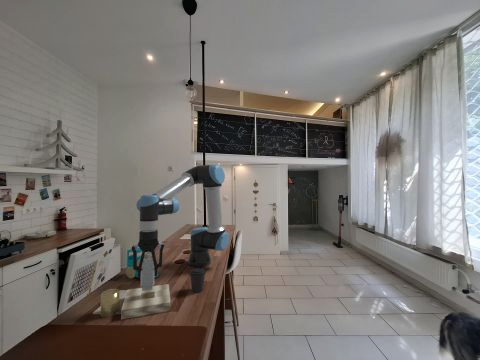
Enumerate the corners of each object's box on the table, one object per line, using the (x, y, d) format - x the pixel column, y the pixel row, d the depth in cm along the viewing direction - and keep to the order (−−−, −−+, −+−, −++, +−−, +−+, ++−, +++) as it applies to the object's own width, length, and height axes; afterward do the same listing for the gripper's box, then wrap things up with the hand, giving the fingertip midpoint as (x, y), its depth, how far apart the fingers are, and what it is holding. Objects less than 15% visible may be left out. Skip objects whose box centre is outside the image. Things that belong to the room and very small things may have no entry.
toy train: (150, 281, 119) (150, 253, 120) (125, 277, 124) (126, 250, 125) (159, 276, 127) (160, 249, 127) (136, 272, 132) (136, 247, 132)
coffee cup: (208, 287, 112) (208, 267, 112) (200, 295, 104) (200, 273, 104) (194, 285, 114) (194, 265, 115) (185, 292, 107) (185, 271, 107)
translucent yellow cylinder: (120, 306, 94) (120, 287, 94) (117, 315, 88) (118, 294, 88) (102, 309, 92) (102, 290, 92) (98, 318, 86) (99, 297, 86)
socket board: (168, 291, 108) (168, 283, 108) (170, 310, 91) (170, 302, 91) (127, 297, 102) (127, 289, 102) (121, 319, 85) (121, 310, 85)
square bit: (152, 285, 99) (153, 258, 100) (152, 289, 95) (152, 261, 96) (142, 286, 98) (143, 259, 98) (142, 290, 94) (142, 262, 94)
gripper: (168, 227, 104) (167, 278, 103) (128, 229, 98) (126, 283, 97) (169, 230, 97) (168, 285, 96) (125, 233, 91) (124, 291, 90)
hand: (147, 284), depth 97 cm, fingers closed on square bit, 4 cm apart
